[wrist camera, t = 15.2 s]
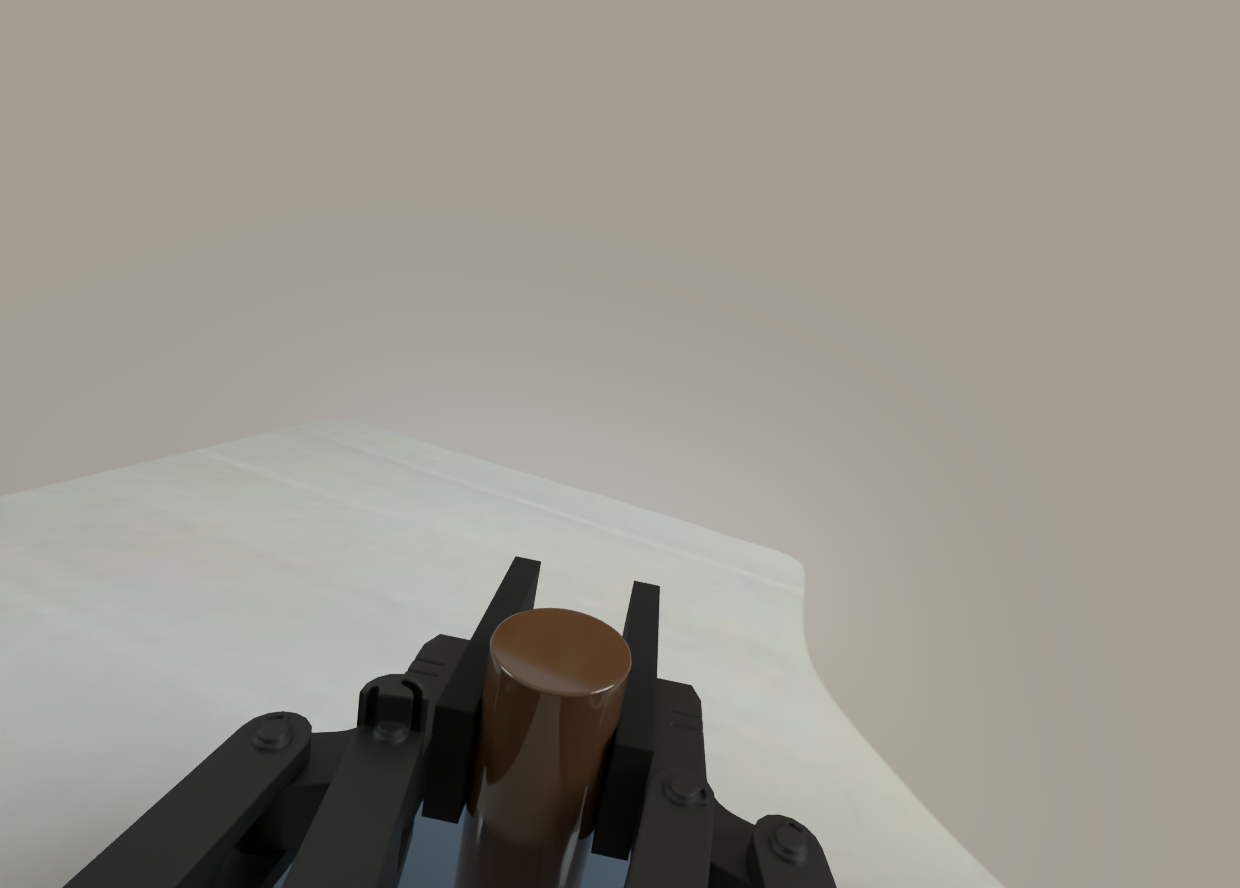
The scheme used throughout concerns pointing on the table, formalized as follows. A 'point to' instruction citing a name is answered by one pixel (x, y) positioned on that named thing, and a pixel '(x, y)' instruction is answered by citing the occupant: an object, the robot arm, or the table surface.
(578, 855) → the lid
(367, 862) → the robot arm
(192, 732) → the table surface
